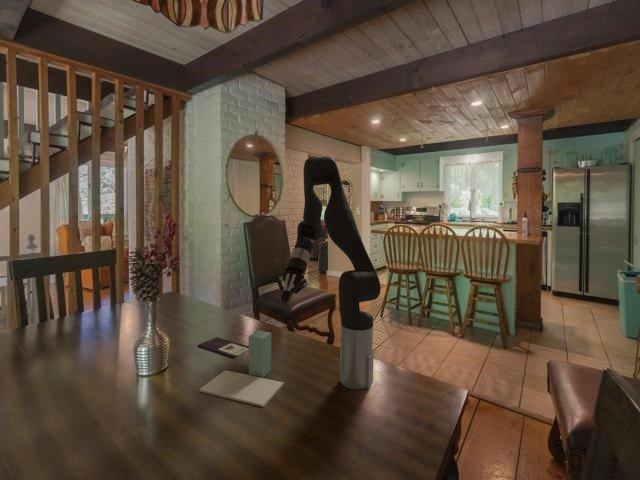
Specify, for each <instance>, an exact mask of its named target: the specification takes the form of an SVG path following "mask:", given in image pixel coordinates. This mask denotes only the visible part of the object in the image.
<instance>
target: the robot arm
mask: <svg viewBox="0 0 640 480" xmlns="http://www.w3.org/2000/svg"><path fill="white" fill-rule="evenodd" d="M323 185H328V186H329V187H330V196H329V198H328V201H327V203H326V206H325V210H324V213H323V204H322V201H321V199H320V198H319V195H317V193H316V192H315V189H314V186H323ZM303 194H304V195H303V196H304V209H303V214H302V215H303V216H302V220H301V221H300V222H299V223H298V225H297V229H296V235H297V236H296V242H295V245H294V248H293V250H292V252H291V254H290V256H289V258H288V262H287V264H286V266H285V270H284V272H283V273H282V275H280V276H276V277H275V281H276V284H277V286H278V288H279V290H280V291H281V297H280V300H281V302H282V304H283V303H284V304H288V303H289V302H290V300H291V297H292V295H293V294H295V295H296V294H298V293H300V291H302V290H304V288H306V287H307V286H309V283H308V280H307V279H306V278H305V275H306V271H307V269H308V266H309V263H310V258H311V254H312V252H313V249H314V243H313V242H312V241H318V240H320V239H321V238H322V236H323V232H324V231H323V224H322V213H323V222H324V225H325V228H326V231H327V234H328V236H329V238H330V240H331V242H333V243H334V245H336V247H337V248H338V249H340V250H341V252H343V253H344V255H345V256H346V257H347V258H348V260H349V261H350V262H351V264H352V266H353V270H351V269H350V270H346V271H343V272H342V273H341V274H340V277H339V281H338V304H339V306H338V308H339V311H338V312H339V316H340V350H339V351H340V352H339V353H340V357H339V358H340V359H339V361H340V362H339V364H340V365H339V382H340V384H341V385H342V386H343V387H345V388H348V389H351V390H357V391H358V390H370V387H371V385H372V382H373V380H374V354H375V353H374V352H375V351H374V348H373V340H374V339H373V338H374V337H373V336H374V334H373V333H374V317H373V315H372V314H371V313H369V312H366V311H363V310H361V308H360V303H364V302H365V303H366V302H369V301H374V300H375V301H376V300H377V299H378V298H379V297H380V295H381V289H382V288H381V287H382V286H381V282H380V279H379V275H378V273H377V270H376V269H375V266H374V264H373V262H372V260H371V258H370V256H369V254H368V252H367V250H366V247H365V244H364V242H363V240H362V237H361V234H360V232H359V229H358V227H357V223H356V220H355V216H354V214H353V212H352V209H351V207H350V204H349V202H348V199H347V196H346V193H345V190H344V185H343V183H342V179H341V175H340V171H339V167H338V164H337V162H336V160H335V158H334V157H333V156H318V157H311V158H307V159H306V160H305V161H304V164H303ZM283 282H284V284H283Z"/></svg>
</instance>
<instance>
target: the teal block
mask: <svg viewBox="0 0 640 480" xmlns="http://www.w3.org/2000/svg"><path fill="white" fill-rule="evenodd" d="M248 346H249V351H248V375H250V376H255V377H260V378H264V377H265V376H266V375H267V374H268V373H269V372H271V370H272V332H269V331H262V330H255V331H254V332H253V333H251V334H249V335H248Z"/></svg>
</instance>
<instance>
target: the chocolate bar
mask: <svg viewBox="0 0 640 480" xmlns="http://www.w3.org/2000/svg"><path fill="white" fill-rule="evenodd" d="M197 347H198V348H201V349H203V350H207V351H210V352H214V353H215V354H219V355H222V356H225V357H229V358H232V359H235V358H237V357H239V356H240V355H243V354H245V353H247V352H249V345H245V344H243V343H239V342H235V341H232V340H229V339H224V338H222V337H218V336H216V337H214V338H210V339H209V340H206V341H204V342H201V343H199V344H197Z"/></svg>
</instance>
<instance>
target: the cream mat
mask: <svg viewBox="0 0 640 480" xmlns="http://www.w3.org/2000/svg"><path fill="white" fill-rule="evenodd" d="M284 384H285V383H284V382H283V381H280V380H274V379H268V378H264V377H259V376H255V375H250V374H245V373H239V372H235V371H231V370H227V369H226V370H225V369H224V370H223V371H222V372H220V374H218V375H217V376H216V377H214V378H212V379H211V380H210V381H208V382H207V383H206V384H205V385H203V386H202V387H200V388H199V390H198V391H199V392H201V393H204V394H208V395H213V396H217V397H222V398H225V399H229V400H233V401H238V402H242V403H246V404H249V405H253V406H258V407H262V408H264V407H265V406H266V405H268V403H269V402H270V401H271V400H272V398H273V397H274V396H276V394H277V393H278V392H279V390H281V388H282V387H283V386H284Z"/></svg>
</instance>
